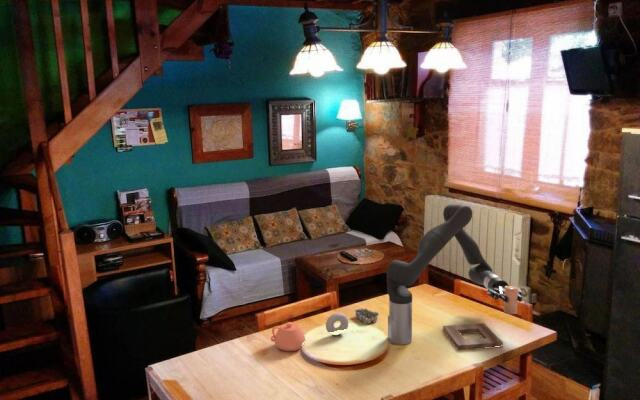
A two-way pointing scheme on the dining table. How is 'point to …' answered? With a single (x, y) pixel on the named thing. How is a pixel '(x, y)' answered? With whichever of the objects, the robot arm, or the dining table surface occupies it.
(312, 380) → the dining table surface
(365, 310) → the egg carton
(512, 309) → the peg
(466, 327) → the hole plate
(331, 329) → the donut
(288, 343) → the sugar bowl
